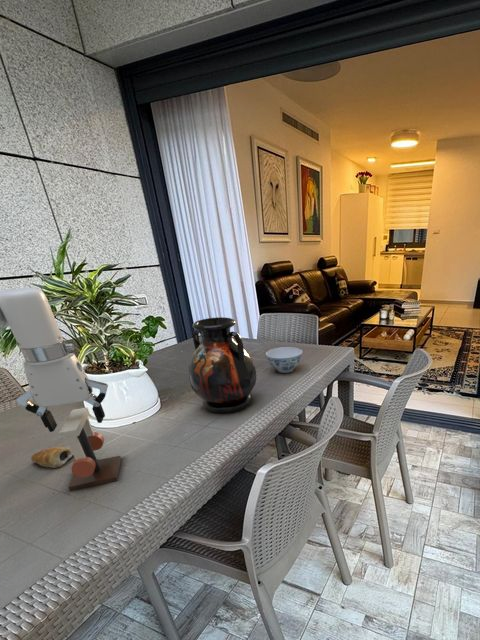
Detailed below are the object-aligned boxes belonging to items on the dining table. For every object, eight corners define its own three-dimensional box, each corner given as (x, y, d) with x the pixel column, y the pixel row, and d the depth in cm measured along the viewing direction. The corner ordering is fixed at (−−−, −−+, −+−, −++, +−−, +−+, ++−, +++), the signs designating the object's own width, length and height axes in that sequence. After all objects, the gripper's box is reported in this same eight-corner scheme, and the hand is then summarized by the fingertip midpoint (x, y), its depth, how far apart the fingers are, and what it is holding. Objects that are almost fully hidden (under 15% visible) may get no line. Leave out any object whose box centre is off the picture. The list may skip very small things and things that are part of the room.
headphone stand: (70, 491, 82) (45, 440, 75) (79, 467, 90) (57, 419, 84) (117, 480, 85) (97, 430, 78) (122, 459, 93) (104, 412, 86)
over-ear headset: (75, 479, 79) (54, 435, 74) (87, 448, 91) (70, 408, 85) (97, 474, 81) (78, 431, 75) (106, 444, 92) (90, 405, 87)
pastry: (26, 467, 91) (19, 455, 89) (46, 453, 97) (41, 441, 95) (59, 469, 90) (53, 456, 88) (77, 454, 96) (72, 442, 94)
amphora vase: (182, 411, 117) (160, 326, 103) (224, 388, 134) (210, 312, 120) (233, 423, 108) (217, 332, 95) (271, 396, 125) (262, 316, 112)
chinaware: (302, 376, 142) (300, 357, 138) (265, 377, 142) (263, 358, 139) (304, 363, 155) (303, 346, 151) (270, 364, 155) (268, 347, 152)
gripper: (96, 342, 78) (120, 410, 86) (3, 353, 73) (39, 425, 82) (89, 351, 72) (116, 424, 80) (-13, 364, 67) (28, 440, 75)
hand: (77, 424), depth 81 cm, fingers open, 9 cm apart
